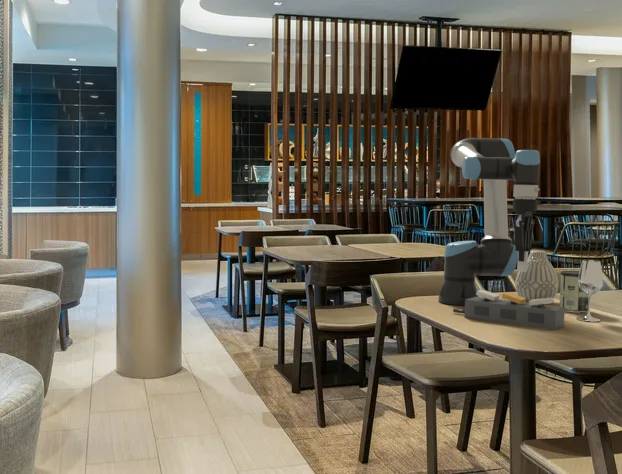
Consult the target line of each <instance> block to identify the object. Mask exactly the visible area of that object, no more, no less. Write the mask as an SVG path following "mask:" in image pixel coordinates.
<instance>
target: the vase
mask: <svg viewBox="0 0 622 474" xmlns="http://www.w3.org/2000/svg"><path fill="white" fill-rule="evenodd" d="M514 286H515V290H516V295H517V296H520V297H523V298H526V302H527V303H529V301H530V300H533V299H543V298H553V299H554V298H555V297H556V295H557V293H558V290H559V277H558V274H557V272H556V270H555V268H554V266H553V265H552V263H551V262H550V261H549V259H548V255H547V252H546V251H545V250H538V249H537V250H533V249H531V251H529V253H528V262H527V272H522V271H517V273H516V276H515V281H514ZM526 302H525V303H526Z"/></svg>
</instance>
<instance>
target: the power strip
mask: <svg viewBox="0 0 622 474" xmlns="http://www.w3.org/2000/svg"><path fill="white" fill-rule="evenodd" d="M452 312H453V313H457V314H459V313H460V314H462V315H463V314H464V318H466V319H473V320H479V321H480V320H481V321H488V322H495V323H500V324H501V323H502V324H508V325H515V326H523V327H531V328H537V329H538V328H539V329H545V330H553V331H556V330H558V329H560V328H562V327H563V328H564V326H565V313H566V312H565V307H560V305H559V306H557V305H549V304H538V305H529V303H526V302H525V303H522V304H519V303H516V302H513V301H510V300H506V299H500V298H499V300H495V301H492V300H489V299H487V298H484V297H481V296H479V297H473V298H469V299H466V300H465V305H464V309H459V308H453V309H452Z"/></svg>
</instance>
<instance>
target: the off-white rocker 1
mask: <svg viewBox="0 0 622 474" xmlns="http://www.w3.org/2000/svg"><path fill="white" fill-rule="evenodd" d="M476 295H478V296H479V297H484V298H487V299H489V300H492V301H495V300H499V299H500V296H501V295H500V294H497V293H494V292H491V291H488V290H485V289H479V290H478V289H477V293H476Z"/></svg>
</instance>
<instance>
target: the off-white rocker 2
mask: <svg viewBox="0 0 622 474" xmlns="http://www.w3.org/2000/svg"><path fill="white" fill-rule="evenodd" d="M554 302H555V300H554V298H543V299H533V300H530V301H529V305H538V304H544V305H549V304H552V303H554Z"/></svg>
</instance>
